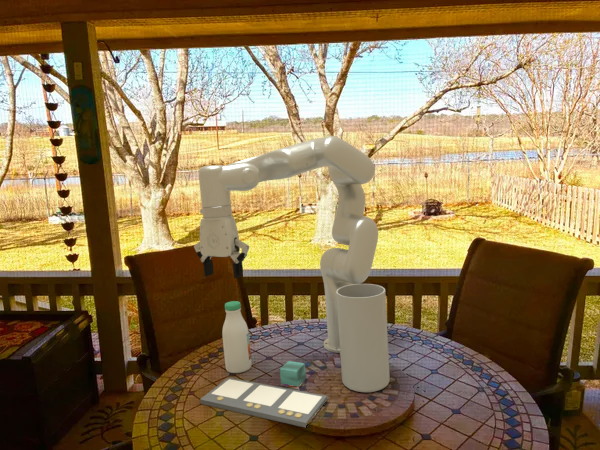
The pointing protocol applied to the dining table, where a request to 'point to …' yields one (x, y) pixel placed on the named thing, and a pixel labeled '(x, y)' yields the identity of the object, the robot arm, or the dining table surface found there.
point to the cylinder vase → (363, 337)
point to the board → (265, 401)
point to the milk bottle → (236, 340)
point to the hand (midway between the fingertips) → (223, 276)
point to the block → (293, 373)
